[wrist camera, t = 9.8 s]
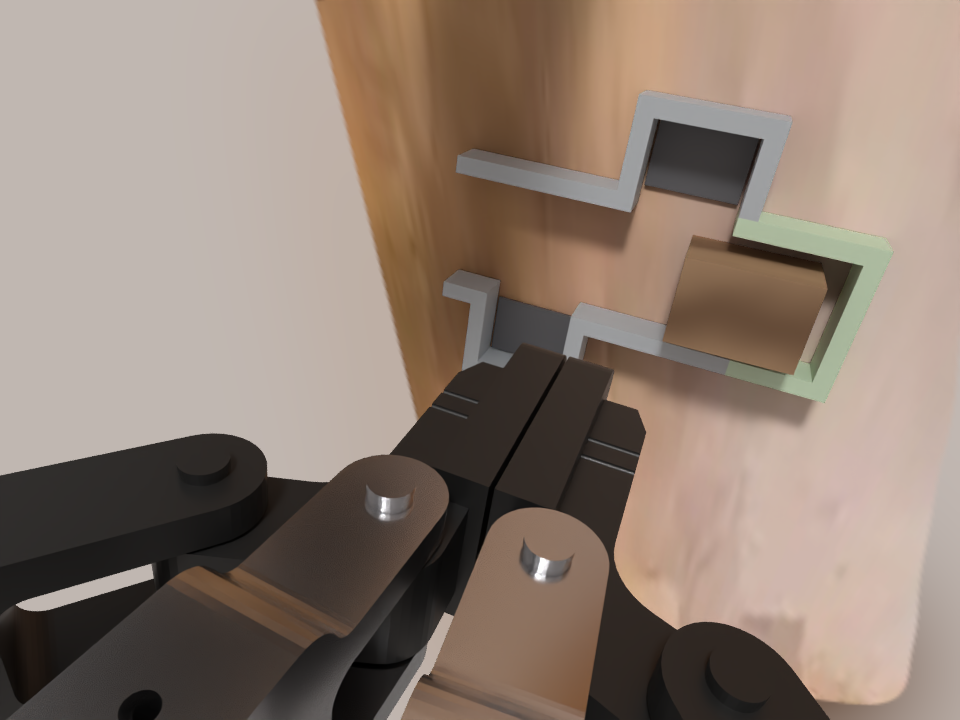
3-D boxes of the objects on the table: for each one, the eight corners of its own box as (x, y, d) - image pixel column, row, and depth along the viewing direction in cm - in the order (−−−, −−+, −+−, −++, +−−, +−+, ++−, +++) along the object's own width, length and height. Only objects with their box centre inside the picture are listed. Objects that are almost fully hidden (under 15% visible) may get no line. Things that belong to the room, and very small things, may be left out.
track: (483, 60, 39) (467, 62, 37) (929, 141, 33) (940, 149, 31) (449, 347, 48) (434, 361, 46) (791, 450, 42) (792, 472, 40)
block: (693, 234, 39) (685, 257, 35) (821, 262, 37) (827, 289, 33) (671, 312, 41) (662, 341, 38) (790, 341, 39) (793, 375, 36)
